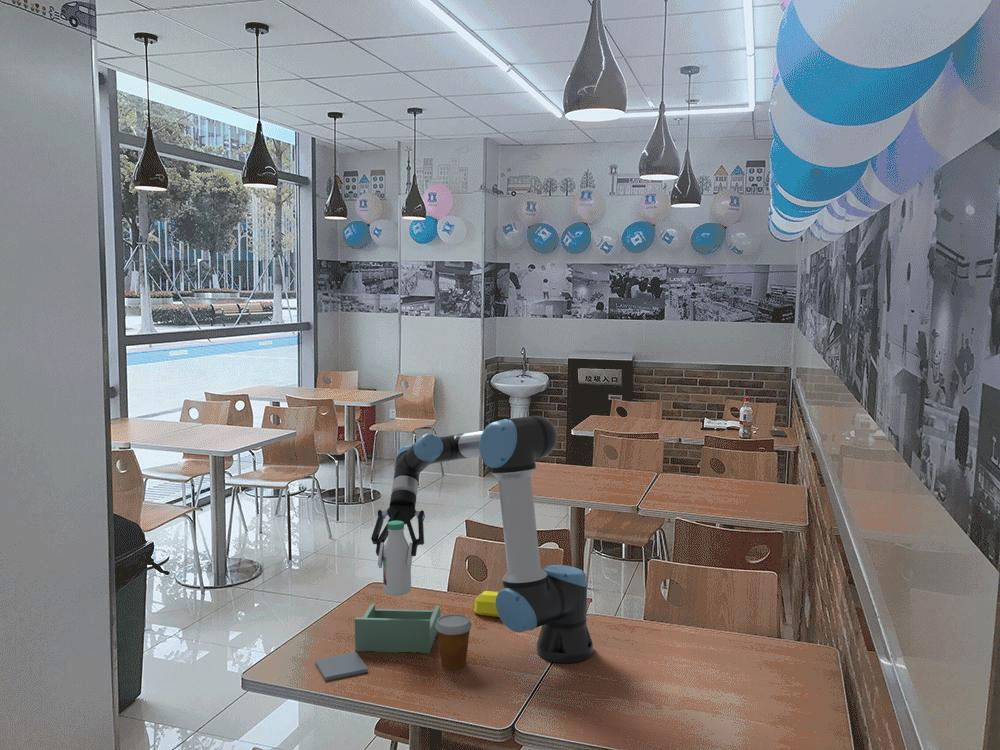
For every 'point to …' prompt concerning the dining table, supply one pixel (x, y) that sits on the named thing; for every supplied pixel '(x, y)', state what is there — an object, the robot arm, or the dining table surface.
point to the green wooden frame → (396, 630)
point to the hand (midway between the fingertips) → (394, 565)
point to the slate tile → (341, 666)
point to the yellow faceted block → (486, 604)
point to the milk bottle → (396, 561)
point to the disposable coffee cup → (453, 639)
